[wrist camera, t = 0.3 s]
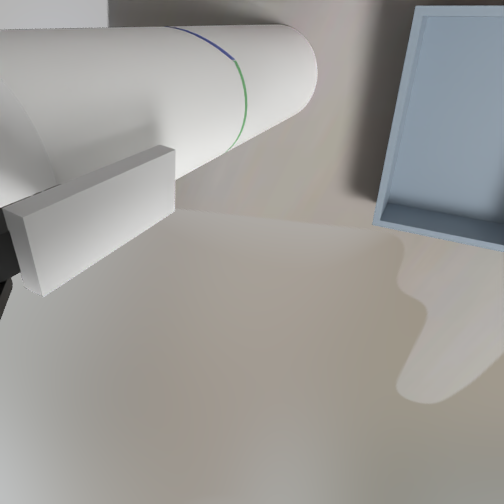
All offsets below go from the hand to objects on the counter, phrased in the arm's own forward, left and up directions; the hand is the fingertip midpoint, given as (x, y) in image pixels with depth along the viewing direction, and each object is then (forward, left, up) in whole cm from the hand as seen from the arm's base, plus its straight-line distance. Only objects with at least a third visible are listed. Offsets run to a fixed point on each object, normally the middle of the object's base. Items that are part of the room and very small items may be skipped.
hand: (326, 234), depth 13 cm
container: (-2, -13, -27) cm, 30 cm away
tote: (+1, +6, -26) cm, 27 cm away
